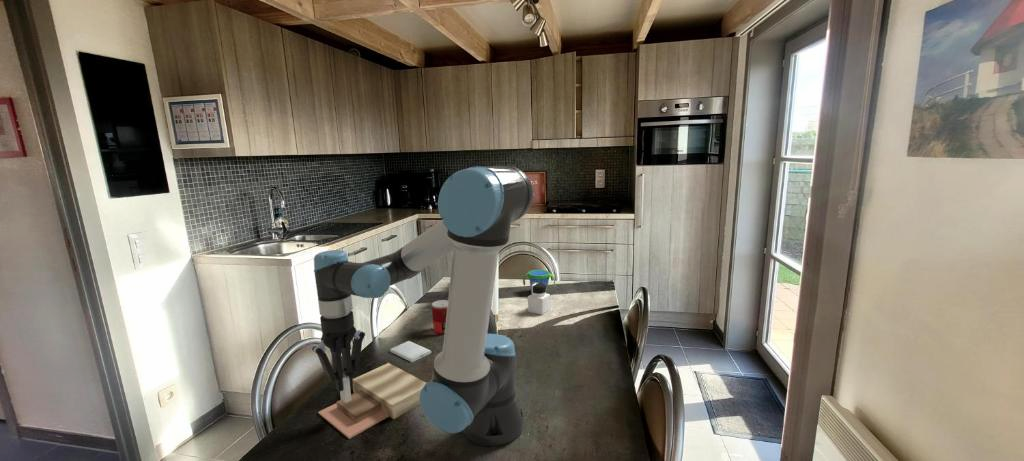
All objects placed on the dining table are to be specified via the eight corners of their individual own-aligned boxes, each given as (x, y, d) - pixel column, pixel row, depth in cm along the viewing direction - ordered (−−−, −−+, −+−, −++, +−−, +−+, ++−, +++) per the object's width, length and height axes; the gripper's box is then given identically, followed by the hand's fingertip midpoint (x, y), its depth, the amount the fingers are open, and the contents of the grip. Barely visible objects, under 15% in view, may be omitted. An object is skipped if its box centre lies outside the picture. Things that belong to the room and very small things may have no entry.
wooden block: (381, 410, 108) (380, 403, 108) (356, 423, 103) (355, 416, 103) (361, 396, 115) (360, 390, 114) (337, 408, 109) (336, 401, 109)
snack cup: (557, 290, 201) (557, 270, 199) (552, 297, 191) (551, 276, 189) (527, 287, 206) (526, 268, 204) (520, 294, 196) (520, 274, 195)
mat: (389, 416, 106) (389, 414, 106) (349, 439, 98) (349, 437, 98) (357, 394, 116) (356, 393, 116) (318, 413, 108) (318, 411, 108)
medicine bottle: (550, 309, 176) (550, 282, 174) (542, 315, 170) (542, 287, 168) (536, 306, 180) (535, 280, 178) (527, 312, 174) (527, 285, 172)
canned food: (444, 336, 153) (443, 308, 151) (429, 331, 157) (427, 304, 155) (457, 328, 159) (456, 301, 157) (442, 324, 164) (440, 298, 162)
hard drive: (389, 348, 142) (411, 359, 134) (409, 340, 148) (431, 349, 140) (390, 353, 142) (412, 363, 134) (409, 344, 148) (431, 354, 140)
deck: (430, 397, 114) (429, 384, 113) (393, 419, 105) (392, 405, 104) (389, 374, 127) (388, 362, 126) (353, 392, 118) (352, 379, 117)
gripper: (353, 302, 108) (361, 383, 112) (302, 317, 98) (314, 406, 103) (368, 308, 103) (376, 393, 108) (317, 325, 94) (328, 417, 98)
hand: (346, 399), depth 105 cm, fingers closed
